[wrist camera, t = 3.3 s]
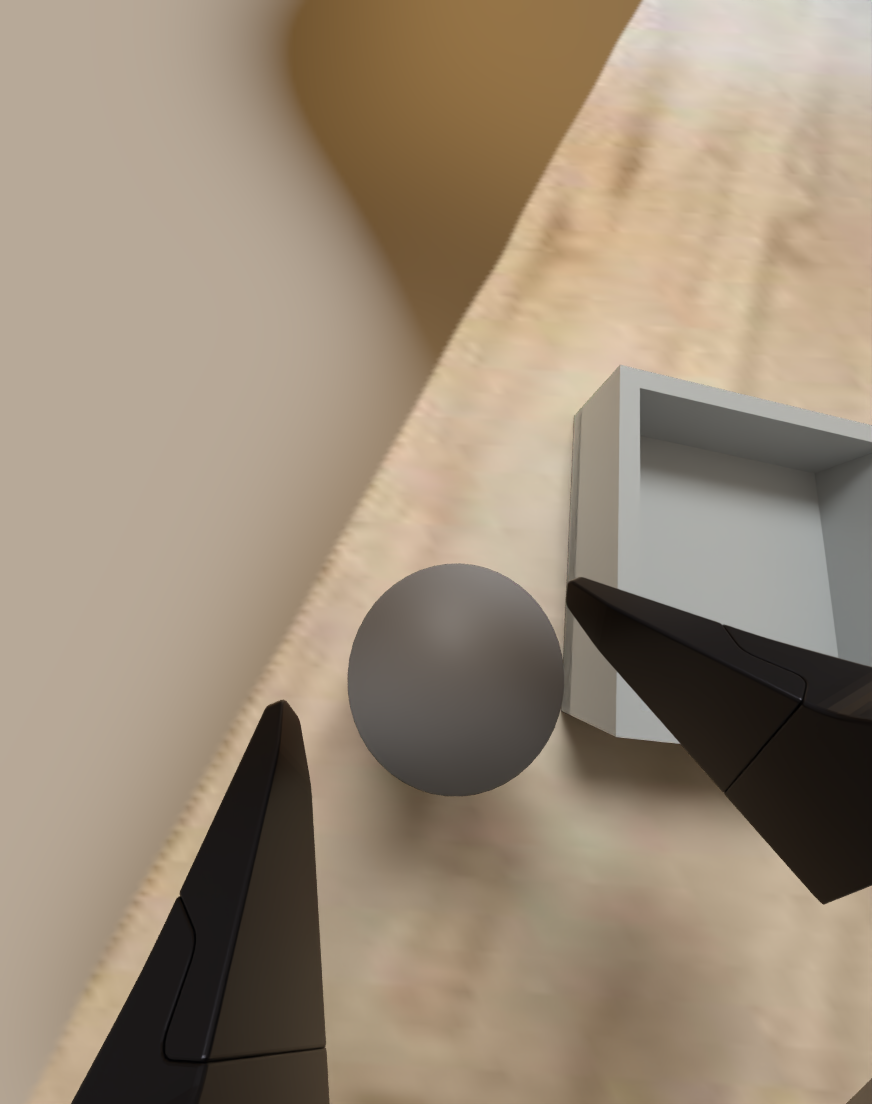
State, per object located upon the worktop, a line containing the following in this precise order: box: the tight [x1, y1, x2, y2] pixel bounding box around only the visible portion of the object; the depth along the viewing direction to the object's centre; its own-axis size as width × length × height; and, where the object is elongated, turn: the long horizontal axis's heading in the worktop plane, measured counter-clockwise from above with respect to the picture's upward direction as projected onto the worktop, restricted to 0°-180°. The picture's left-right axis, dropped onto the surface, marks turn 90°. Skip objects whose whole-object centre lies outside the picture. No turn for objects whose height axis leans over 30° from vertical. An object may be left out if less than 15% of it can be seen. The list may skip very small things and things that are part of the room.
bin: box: [561, 365, 872, 744], centre depth 17 cm, size 16×16×4 cm
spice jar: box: [348, 564, 564, 796], centre depth 12 cm, size 5×5×8 cm
